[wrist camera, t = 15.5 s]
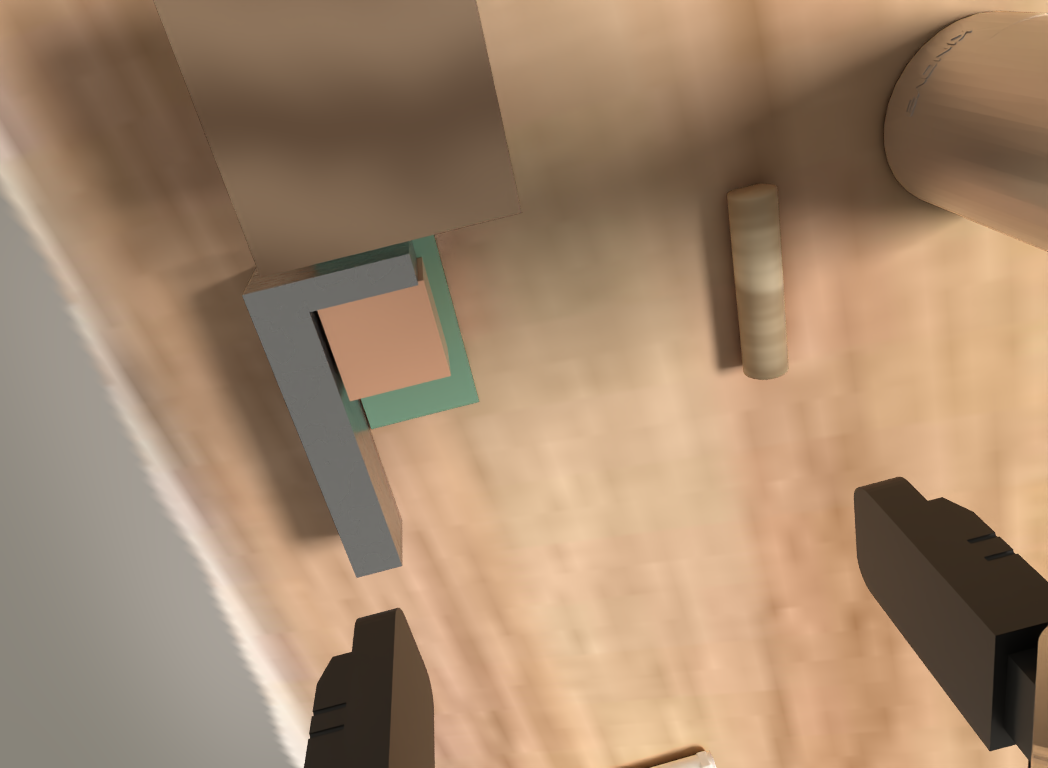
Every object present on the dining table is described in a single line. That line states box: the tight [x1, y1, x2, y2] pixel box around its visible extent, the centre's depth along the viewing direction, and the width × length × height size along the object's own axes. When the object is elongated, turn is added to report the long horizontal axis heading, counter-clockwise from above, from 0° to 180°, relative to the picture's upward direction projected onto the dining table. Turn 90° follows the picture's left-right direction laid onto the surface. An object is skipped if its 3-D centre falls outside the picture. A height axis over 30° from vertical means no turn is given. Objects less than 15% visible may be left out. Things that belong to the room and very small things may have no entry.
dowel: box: [727, 184, 789, 380], centre depth 41 cm, size 10×2×2 cm, turn 12°
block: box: [317, 257, 451, 401], centre depth 39 cm, size 5×5×4 cm
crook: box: [242, 240, 418, 578], centre depth 40 cm, size 16×8×4 cm, turn 12°
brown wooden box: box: [153, 0, 522, 277], centre depth 31 cm, size 10×10×9 cm
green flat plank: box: [361, 235, 479, 429], centre depth 37 cm, size 25×6×1 cm, turn 12°
